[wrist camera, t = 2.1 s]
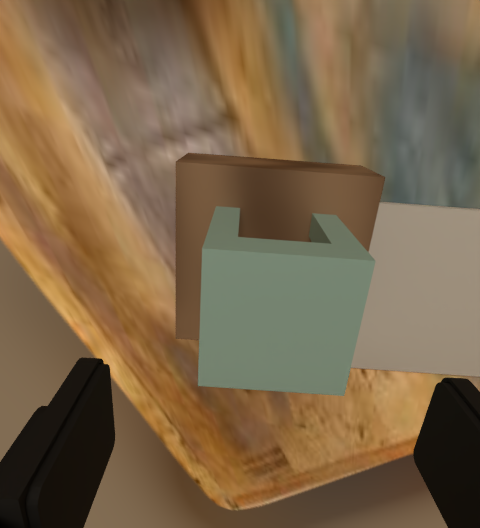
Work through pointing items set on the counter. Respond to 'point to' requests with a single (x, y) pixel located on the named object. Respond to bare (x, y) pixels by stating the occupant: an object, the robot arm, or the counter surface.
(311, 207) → the brown square block
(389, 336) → the mat
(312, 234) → the green notched block
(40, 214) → the counter surface
